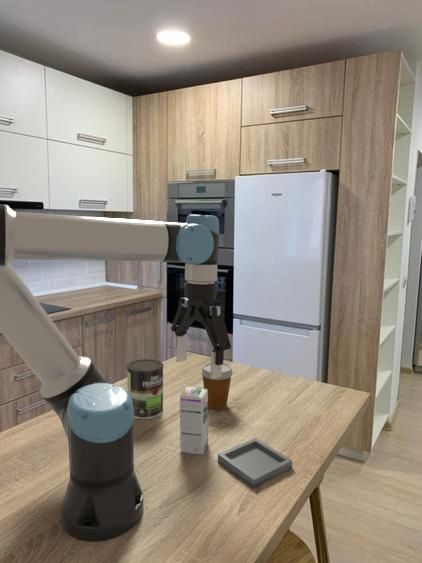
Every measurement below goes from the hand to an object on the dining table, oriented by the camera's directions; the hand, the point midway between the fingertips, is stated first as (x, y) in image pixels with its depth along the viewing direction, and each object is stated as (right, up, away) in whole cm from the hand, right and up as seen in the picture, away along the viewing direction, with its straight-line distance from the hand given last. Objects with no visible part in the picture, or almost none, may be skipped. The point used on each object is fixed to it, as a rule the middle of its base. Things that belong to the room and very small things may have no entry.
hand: (197, 368), depth 101 cm
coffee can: (-16, -17, +20) cm, 31 cm away
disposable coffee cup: (+5, -16, +25) cm, 30 cm away
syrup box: (-1, -20, +2) cm, 20 cm away
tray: (+13, -21, -5) cm, 25 cm away
